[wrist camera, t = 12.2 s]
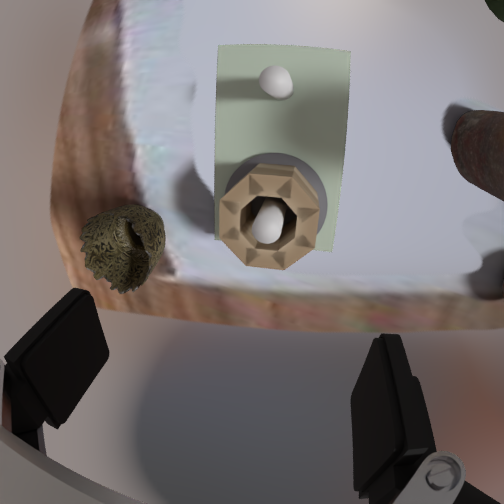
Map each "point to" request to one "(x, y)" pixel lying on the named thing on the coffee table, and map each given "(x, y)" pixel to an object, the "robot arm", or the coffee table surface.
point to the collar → (241, 218)
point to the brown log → (480, 150)
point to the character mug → (496, 8)
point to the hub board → (282, 127)
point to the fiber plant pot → (123, 245)
